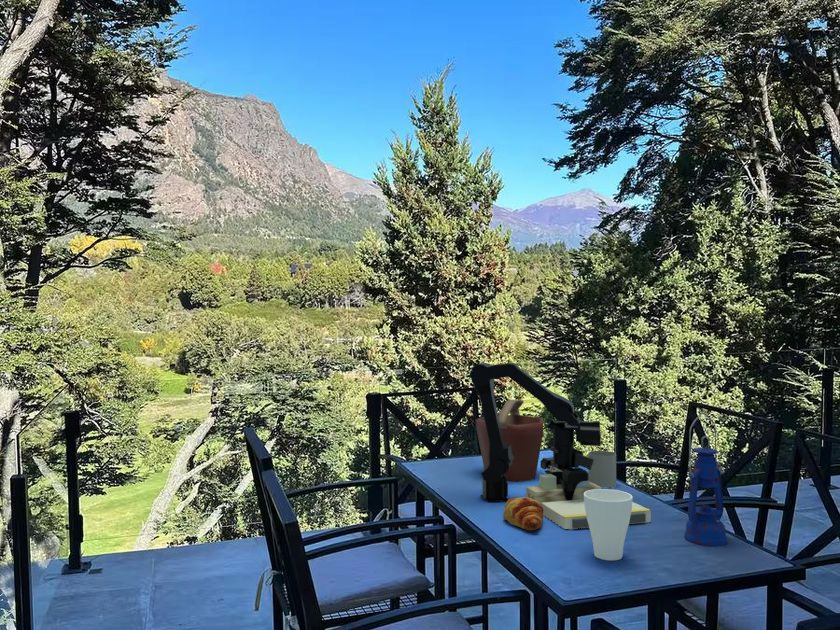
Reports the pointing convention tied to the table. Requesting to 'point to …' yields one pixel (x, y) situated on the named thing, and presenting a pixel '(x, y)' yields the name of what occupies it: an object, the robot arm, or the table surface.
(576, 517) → the dock
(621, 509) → the cup
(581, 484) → the blue-grey cube
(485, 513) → the table surface
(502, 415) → the bucket
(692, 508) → the lantern
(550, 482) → the grey-green cube
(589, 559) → the table surface
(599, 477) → the cup
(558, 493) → the wooden block
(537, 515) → the croissant
